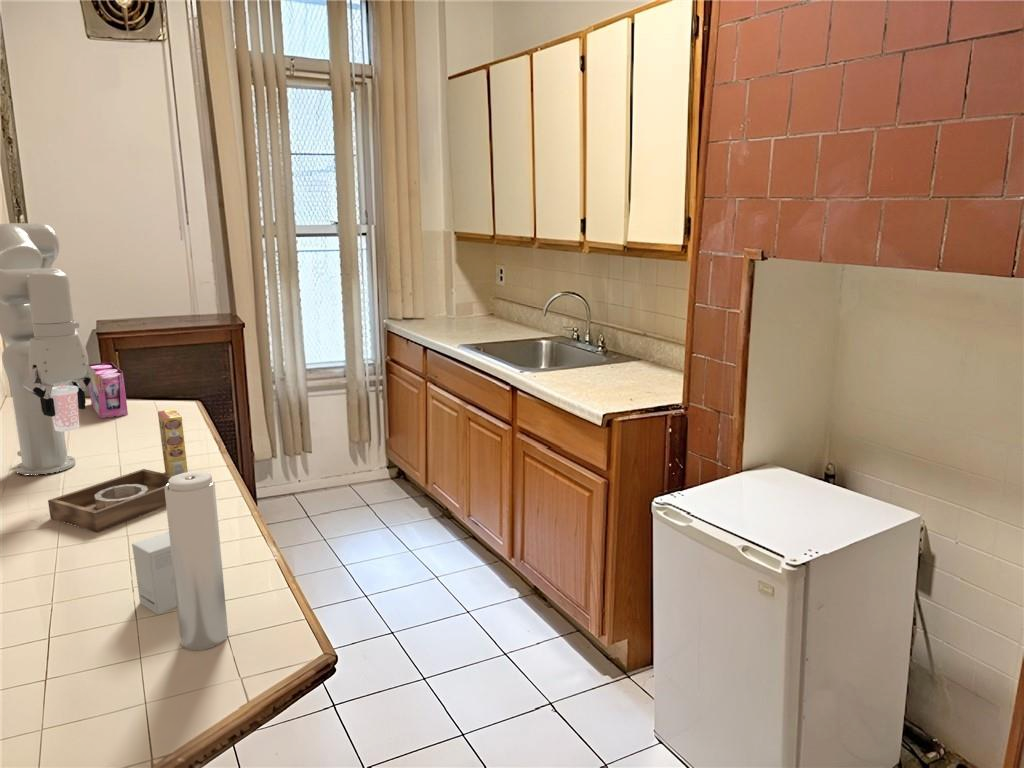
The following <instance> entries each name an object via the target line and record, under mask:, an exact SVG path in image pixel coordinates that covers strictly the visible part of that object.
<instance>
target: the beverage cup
mask: <svg viewBox="0 0 1024 768" xmlns="http://www.w3.org/2000/svg"><path fill="white" fill-rule="evenodd" d="M78 391H79V390H78V387H77V386H72V385H64V383H60V384H59V386H53V388H52V391H51V395H50V398H53V400H54V407H55V416H53V417H52V418H53V423H54V428H55V431H59V432H64V433H65V432H70V431H75V430H78V429H79V428H80V417H79V415H80V414H79V409H78V395H77V392H78Z"/></svg>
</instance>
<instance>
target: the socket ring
mask: <svg viewBox="0 0 1024 768" xmlns="http://www.w3.org/2000/svg"><path fill="white" fill-rule="evenodd" d="M147 492H148V488H147V486H144V485H140V484H126V485H119V486H113V487H110V488H107V489H104V490H101V491H99V492H98V493H97V494H95V495H94V496H95V504H96V509H97V510H100V509H103V508H105V507H108V506H111V505H114V504H117V503H119V502H122V501H125V500H128V499H130V498H133V497H136V496H139V495H141V494H144V493H147ZM124 497H126V498H124ZM118 498H120V499H118Z"/></svg>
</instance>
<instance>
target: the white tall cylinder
mask: <svg viewBox="0 0 1024 768" xmlns="http://www.w3.org/2000/svg"><path fill="white" fill-rule="evenodd" d="M168 482H169V483H168V484H167V485H166V486H165V487H164V489H165V499H166V506H165V508H166V515H167V516H166V517H167V523H168V524H167V525H168V532H169V536H170V546H171V555H172V565H173V574H174V584H175V593H176V603H177V607H176V610H177V620H178V629H179V641H180V645H181V647H182V648H183V649H186V650H188V651H189V650H190V651H205V650H208V649H212V648H214V647H217V646H218V645H220V644H222V643H223V642H224V641H225V640H226V639H227V638H228V636H229V627H228V618H227V617H228V616H227V615H228V614H227V606H226V605H227V604H226V595H225V583H224V573H223V562H222V550H221V549H222V548H221V539H220V529H219V518H218V505H217V495H216V484H215V483H216V482H215V481H213V476H212V473H209V472H207V471H188V472H186V473H182V474H178V475H175V476H173V477H171V478H170V479H169V481H168Z"/></svg>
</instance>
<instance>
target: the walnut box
mask: <svg viewBox="0 0 1024 768" xmlns="http://www.w3.org/2000/svg"><path fill="white" fill-rule="evenodd" d="M171 477H173V475H168V474H166V473H163V472H158V471H154V470H150V469H145V468H142V469H139V470H136V471H133V472H130V473H127V474H123V475H121V476H120V475H119V476H117V477H115V478H112V479H108V480H105V481H103V482H100V483H96V484H94V485H91V486H87V487H83V488H81V489H79V490H75V491H72V492H69V493H66V494H62V495H60V496H57V497H53V498H51V499H48V500H47V502H48V503H47V504H48V512H49V517H50V519H51V520H53V521H54V520H55V521H57V520H58V522H60V521H61V523H64V522H65V523H64V524H67V523H69V524H68V525H70V524H72V525H71V526H74V525H76V526H75V527H77V526H79V527H78V528H81V529H84V528H85V529H84V530H87V529H88V530H87V531H91V532H94V533H99V532H102V531H105V530H107V529H110V528H112V527H116V526H117V525H120V524H124V523H125V522H128V521H130V520H133V519H135V518H138V517H141V516H143V515H146V514H149V513H151V512H154V511H156V510H159V509H162V508H164V507H166V499H165V489H164V487H165V486H166V485H167V484H168V483H169V482H168V481H169V479H170V478H171ZM126 484H140V485H144V486H147V488H148V492H147V493H144V494H141V495H139V496H136V497H133V498H130V499H128V500H125V501H122V502H119V503H117V504H114V505H111V506H108V507H105V508H103V509H100V510H97V509H96V504H95V496H94V495H95V494H97V493H98V492H99V491H101V490H104V489H107V488H110V487H113V486H119V485H126ZM124 498H126V497H124ZM118 499H120V498H118Z"/></svg>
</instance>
